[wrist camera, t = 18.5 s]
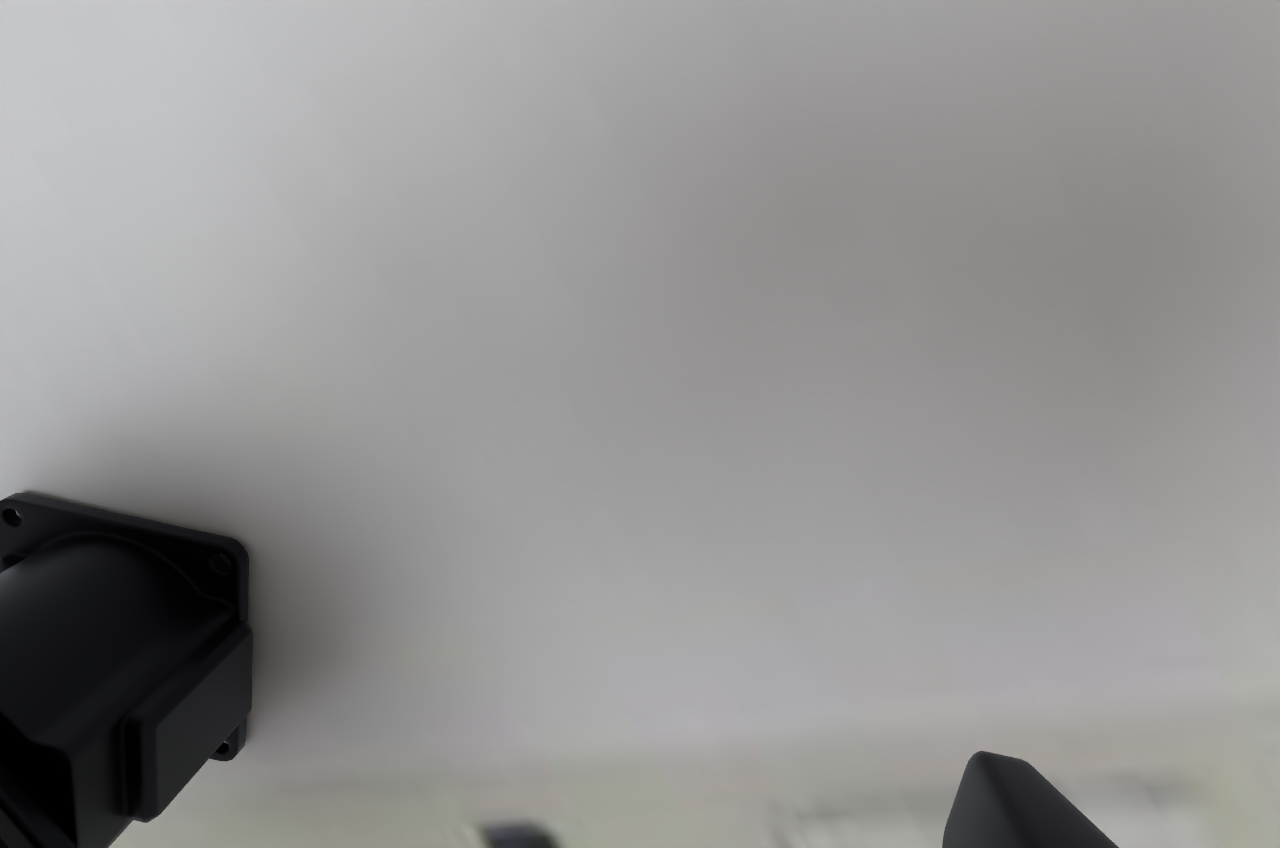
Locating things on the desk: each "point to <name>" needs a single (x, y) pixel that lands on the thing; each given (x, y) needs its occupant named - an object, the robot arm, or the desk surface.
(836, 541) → the desk surface
